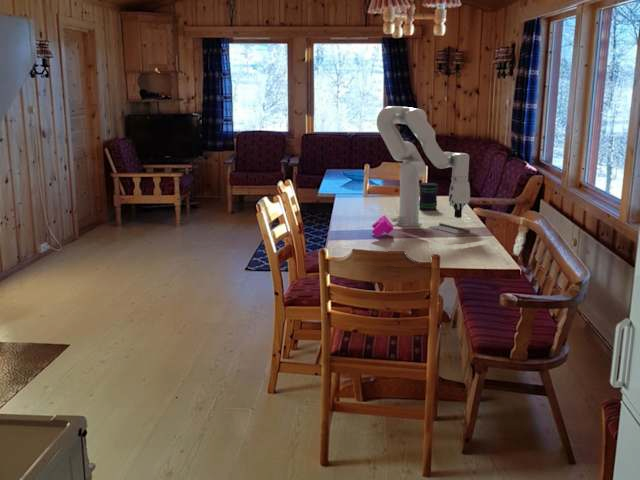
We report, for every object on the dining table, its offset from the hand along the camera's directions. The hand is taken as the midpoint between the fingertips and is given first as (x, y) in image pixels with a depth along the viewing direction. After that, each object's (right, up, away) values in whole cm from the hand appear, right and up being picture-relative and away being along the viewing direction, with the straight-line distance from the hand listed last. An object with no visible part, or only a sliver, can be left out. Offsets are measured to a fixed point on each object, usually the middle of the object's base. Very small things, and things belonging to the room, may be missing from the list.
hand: (457, 217), depth 309 cm
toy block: (-35, -3, -15) cm, 38 cm away
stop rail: (-2, -6, 0) cm, 6 cm away
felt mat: (-5, -6, -2) cm, 9 cm away
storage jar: (-6, +6, +52) cm, 53 cm away
